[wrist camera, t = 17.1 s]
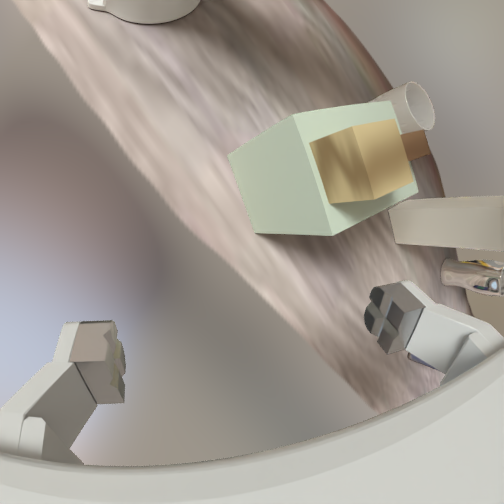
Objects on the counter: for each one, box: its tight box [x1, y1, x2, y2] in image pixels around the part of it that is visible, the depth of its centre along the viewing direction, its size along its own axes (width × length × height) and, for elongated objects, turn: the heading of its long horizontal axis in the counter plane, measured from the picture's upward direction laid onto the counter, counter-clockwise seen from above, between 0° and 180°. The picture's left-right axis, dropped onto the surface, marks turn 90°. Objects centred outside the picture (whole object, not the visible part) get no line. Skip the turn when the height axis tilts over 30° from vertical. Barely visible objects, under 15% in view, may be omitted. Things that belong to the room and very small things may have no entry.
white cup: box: [367, 81, 435, 134], centre depth 40 cm, size 8×8×10 cm
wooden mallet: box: [309, 119, 431, 204], centre depth 23 cm, size 5×13×5 cm, turn 111°
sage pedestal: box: [227, 101, 418, 236], centre depth 32 cm, size 10×13×15 cm
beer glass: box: [440, 258, 504, 297], centre depth 49 cm, size 7×7×15 cm
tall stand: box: [388, 196, 504, 252], centre depth 34 cm, size 12×12×30 cm
